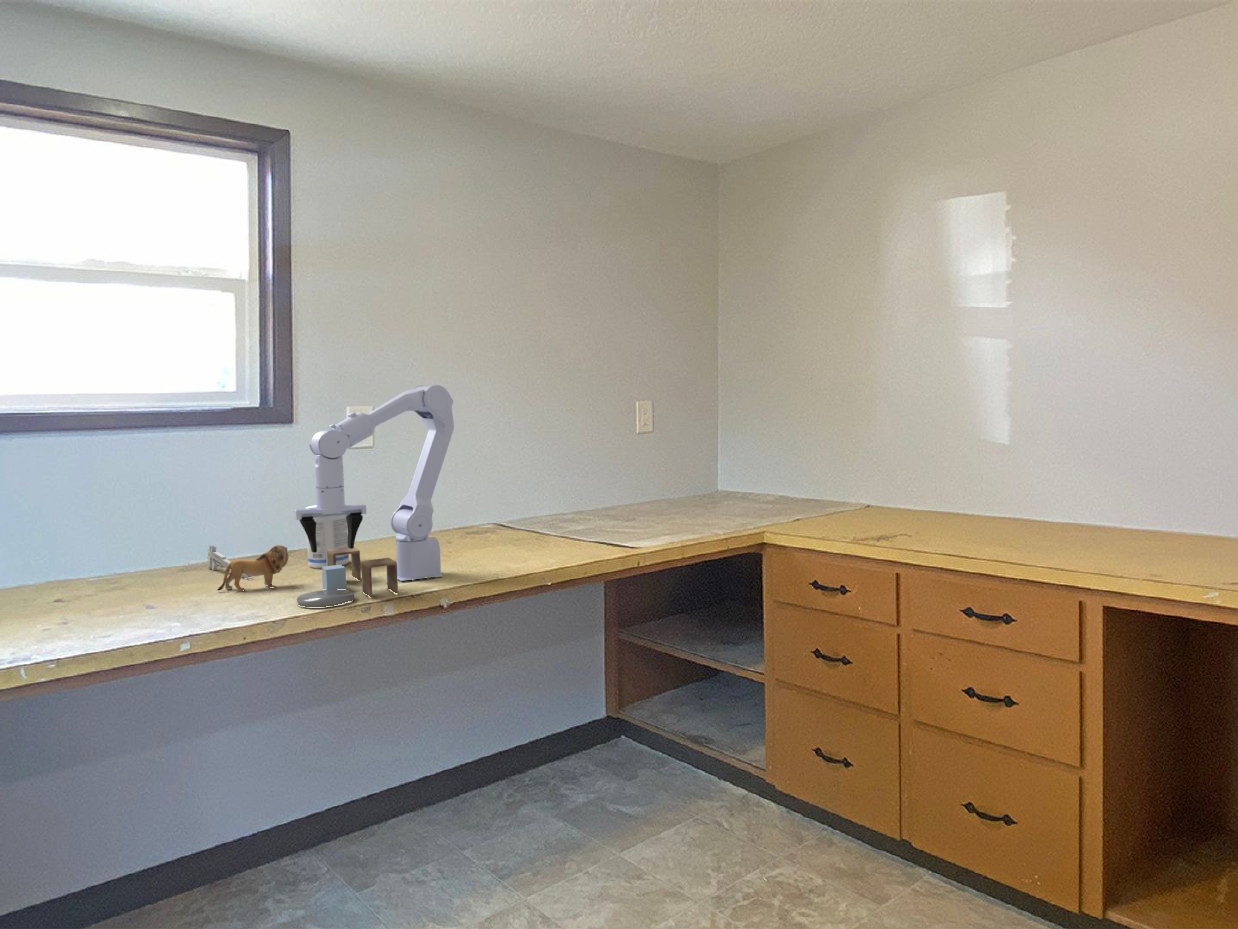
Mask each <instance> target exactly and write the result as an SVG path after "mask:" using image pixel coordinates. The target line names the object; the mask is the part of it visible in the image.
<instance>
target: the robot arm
mask: <svg viewBox="0 0 1238 929" xmlns="http://www.w3.org/2000/svg"><path fill="white" fill-rule="evenodd" d="M453 404H454V399H453V398H452V396H451V394H450V393H449V391H448V390H447V389H446V388H445V387H444V386H442V385H439V384H435V385H417V386H415V387H413V388H412V389H408V390H407V389H406V390H405V391H403V392H400V394H398V395H396V396H395V397H393V398H391V399H390V400H388V401H386V402H385V403H383V404H381V405H379V406H378V407H376V408H375V409H373V410H371V411H370V412H368V413H364V412H361V411H358V412H354V411H352V412H350V413H348V414H347V418H345V419H343V420H342V421H340V422H338V423H336V424H335V423H332V424H329V426H328V428H329V430H320V431H318V432H316V433H315V434H314V435H313V437H312V438H311V441H310V443H309V449H310V451H311V452H312V453H313V456H314V476H315V478H314V479H315V481H314V482H315V497H316V498H315V499H316V503H315V504H316V505H317V507H314V508H306V507H305V508H306V509H305V508H298V509H294V519H295V520H296V521H297V520H299V523H300V525H301V526H302V528H303V531H304V532H305V533H306V534H307V536H306V538H307V537H308V539H309V542H310V546H311V551H312V552H313V553H315V552H317V544H316V522H315V521H314V519H313V518H317V517H329V516H341V515H346V521H347V535H348V548H350V549H353V548H355V541H356V537H357V533H358V531H359V527H360V525H361V524H362V522H363V518H364V516H363V515H366V514H367V504H364V503H361V504H346V501H345V498H346V497H345V481H344V480H345V478H344V461H343V455H345V453H346V452H347V450H348V449H350V448H352V447H353V446H355V445H357V444H358V443H360V442H362V441H364V440H366V439H368V438H370V437H372V436H373V435H374V432H375V430H376V427H377V426H379V425H381V424H383V423H385V422H387V421H389V420H391V419H392V418H395V417H398V416H399V415H401V414H403V413H404V412H405V413H406V412H411V411H413V412H414V413H415V414H417V415H418V417H420V418H421V419H422V420H423V422H424V423H425V424H424V425H426V427H427V429H428V431H427V433H426V434H427V435H426V437H425V440H424V444H423V447H422V450H421V452H420V456H419V458H418V462H417V465H416V468H415V471H414V474H413V478H412V481H411V482H410V483H411V484H410V486H409V489H408V491H407V492H408V493H407V494H406V495H405V496H404V497H403V498H402V499H401V501H400V503H399V506H398V507H397V508H396V510H395V511H394V512H393V513H392V515H391V517H390V527H391V529H392V530H393V531H394V532H395V533H396V534H395V535H396V536H395V554H396V555H395V556H396V558H395V559H396V562H397V578H398V579H399V580H401V581H405V580H412V579H419V578H425V577H435V578H440V577H439V576H441V577H442V576H443V575H442V573H441V572H442V570H441V567H442V566H441V547H440V543H439V540H438V538H437V537H436V536H430V537H429V535H430V533H431V531H432V529H433V514H434V507H433V504H432V497H433V495H434V492H435V488H436V485H437V483H438V479H439V476H440V473H441V470H442V467H443V464H444V461H445V457H446V455H447V451H448V448H449V446H450V442H451V439H452V436H453V433H454V429H455V424H454V422H455V421H454V415H453V410H452V409H453ZM336 512H341V513H336ZM323 513H333V514H323ZM398 579H397V580H398ZM399 580H398V581H399ZM401 581H400V582H401ZM412 581H413V580H412ZM405 582H406V581H405Z"/></svg>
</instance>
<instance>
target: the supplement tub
mask: <svg viewBox="0 0 1238 929" xmlns="http://www.w3.org/2000/svg"><path fill="white" fill-rule="evenodd" d="M314 507H317V504H314V505H310V506H306V507H305V508H304V509H306V508H314ZM336 513H341V512H336ZM323 514H333V513H323ZM313 519H314V521H315V522H316V544H317V552H315V553H313V552H312V551H311V546H310V542H309V539H308V537H307V534H306V546H307V547H306V549H307V550H306V551H307V562H308V566H309V567H311V568H313V569H322V567H324V566H328V560H327V550H328V549H337V548H346V547H348V529H347V521H346V515H341V516H329V517H317V518H313ZM349 561H350V554H345V555H336V565H343V566H345V565H347V564H348V563H349Z"/></svg>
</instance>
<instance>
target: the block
mask: <svg viewBox="0 0 1238 929" xmlns="http://www.w3.org/2000/svg"><path fill="white" fill-rule="evenodd" d="M346 574H347V573H346V566H345V565H343V566H342V565H333V566H324V567H322V568H321V576H322V590H323V589H326V590H337V589H346V590H347V577H346V576H347V575H346Z"/></svg>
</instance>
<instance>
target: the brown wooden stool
mask: <svg viewBox="0 0 1238 929" xmlns="http://www.w3.org/2000/svg"><path fill="white" fill-rule="evenodd" d="M381 567H386V580H387V581H386V584H387V585H386V586H387V590H388V589H391V590H392V591H393V592H395V593H398V594H399V586H398V584H399V583H398V581H399V580H398V579H397V560H394V559H392V558H390V557H384V558H383V557H382V558H375V559H367V560H365V559H364V560H360V568H361V585H362V586H361V587H362V593H363V592H364V593H365V594H367V595H369V596H370V597H372V596H373V577H372V576H373V575H372V574H373V573H372V568H381Z"/></svg>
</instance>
